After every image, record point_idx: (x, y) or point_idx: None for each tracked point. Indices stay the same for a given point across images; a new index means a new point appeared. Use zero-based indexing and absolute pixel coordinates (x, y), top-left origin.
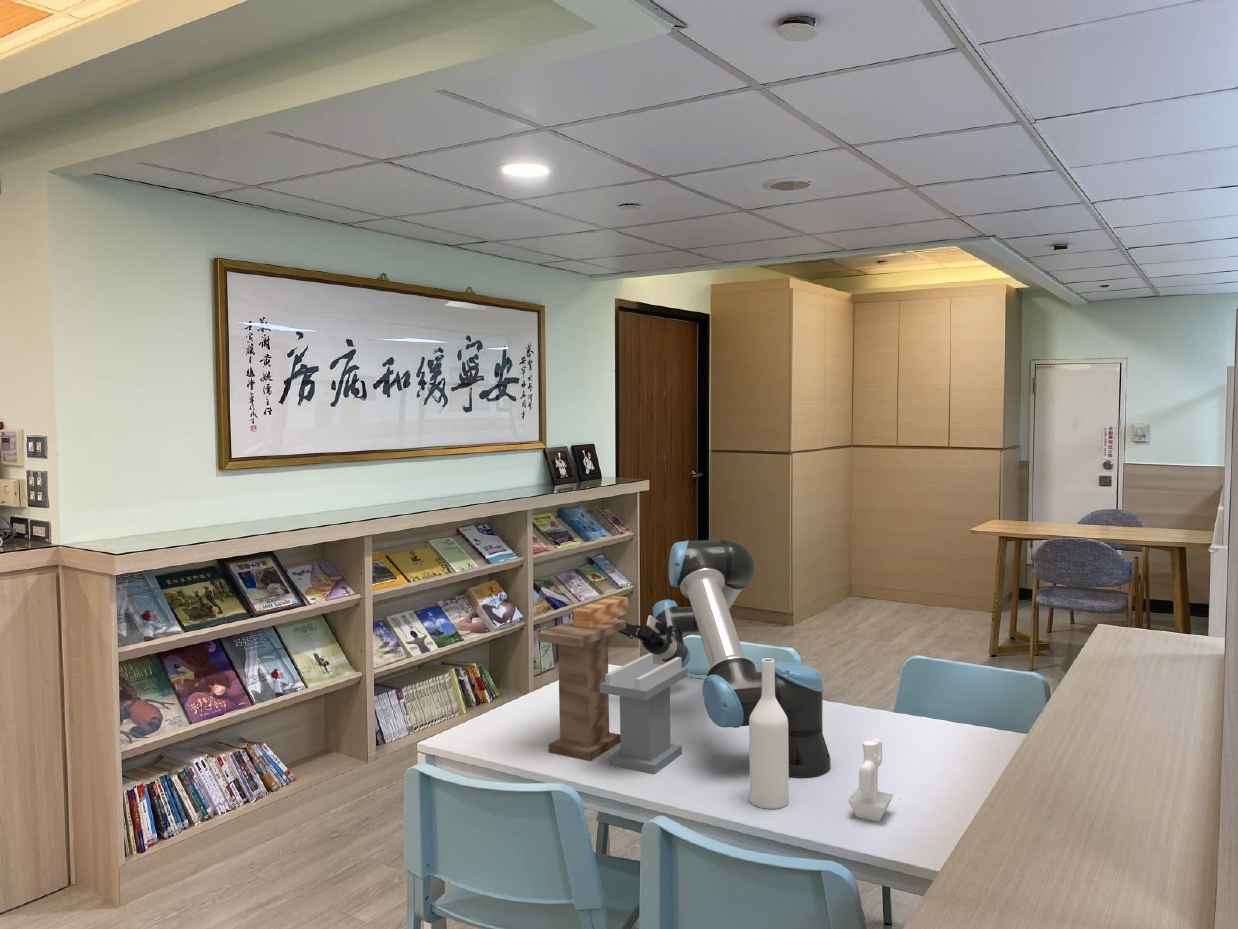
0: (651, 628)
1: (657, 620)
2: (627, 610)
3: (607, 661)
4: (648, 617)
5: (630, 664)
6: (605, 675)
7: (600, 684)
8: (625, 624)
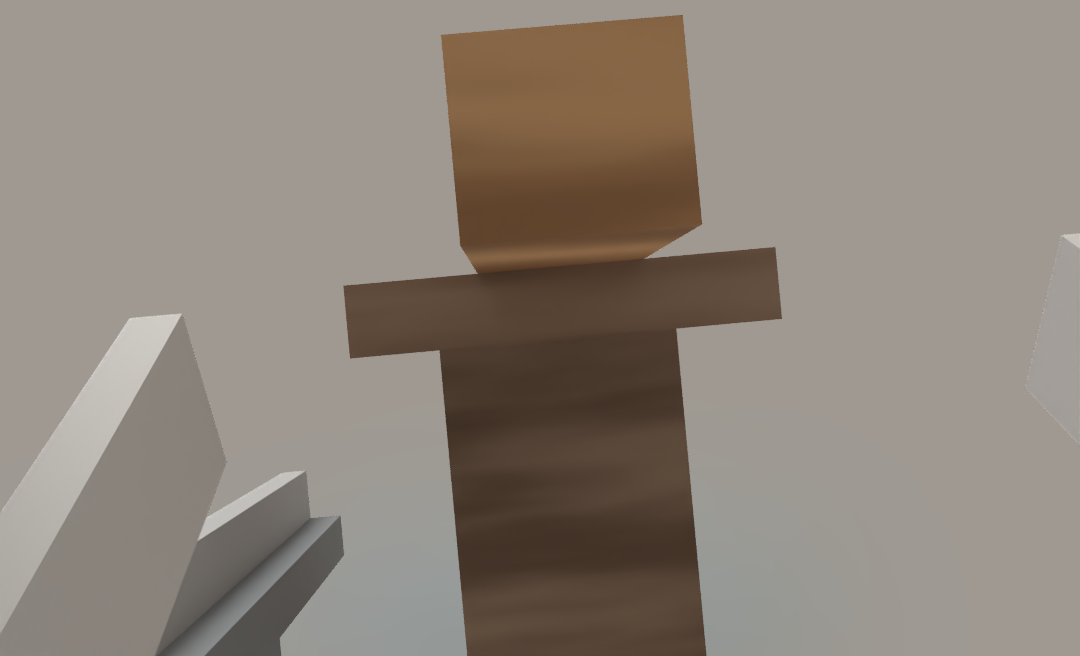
0: (165, 597)
1: (10, 504)
2: (458, 212)
3: (459, 562)
4: (187, 351)
5: (223, 510)
6: (305, 474)
7: (336, 516)
8: (347, 323)
